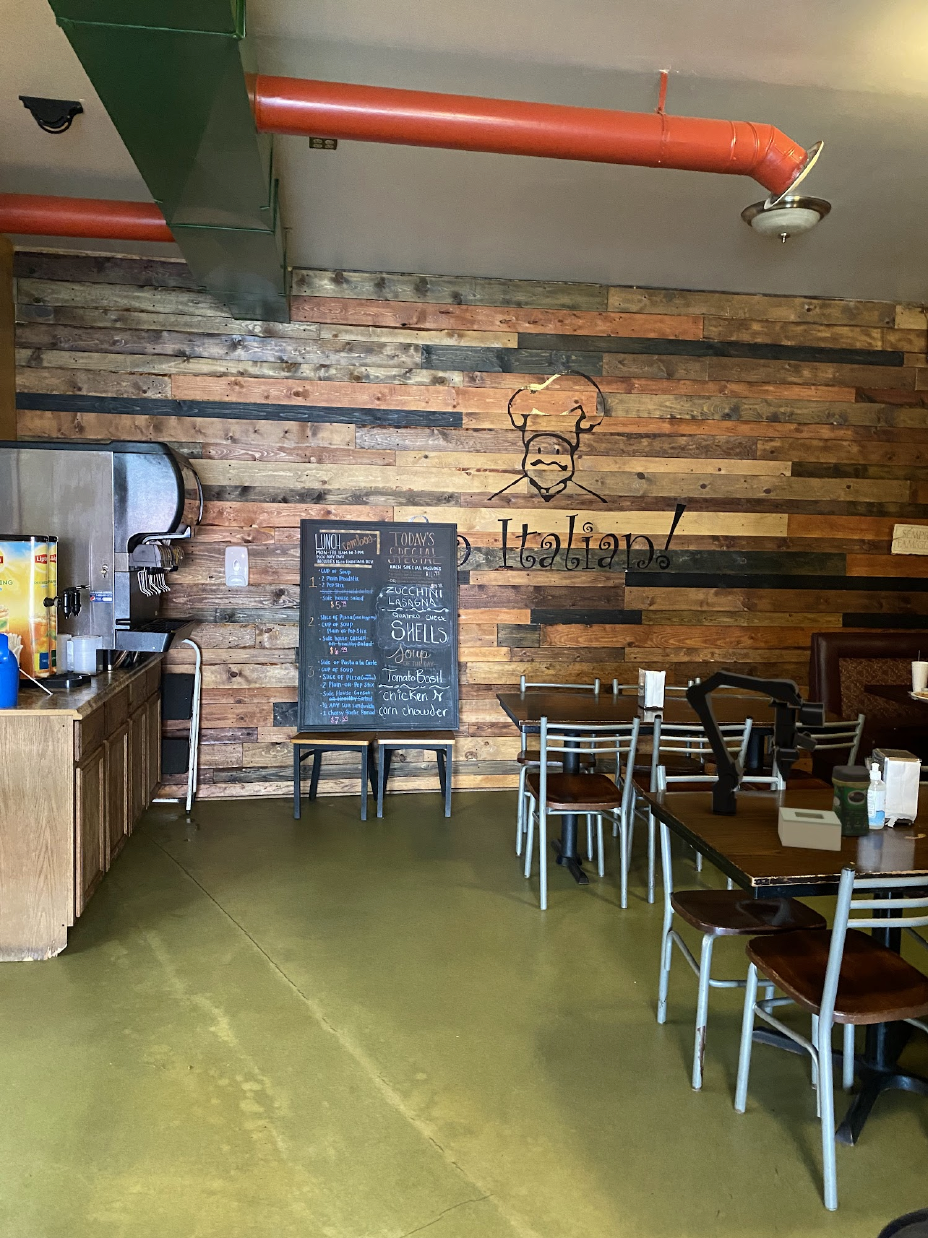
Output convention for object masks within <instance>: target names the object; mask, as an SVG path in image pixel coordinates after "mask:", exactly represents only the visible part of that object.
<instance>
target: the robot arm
mask: <svg viewBox="0 0 928 1238" xmlns="http://www.w3.org/2000/svg"><path fill="white" fill-rule="evenodd" d="M721 686H726V687H732V688H737V689H742V690H747V691H753V692H757V693H762V694H764V695H767V696H769V697H770V698H773V700H772V702H770V703H768V705H767V706H768V708H771V709H772V708H773V709H775V710H774V711H775V712H774V725H773V730H774V733H773V735H774V736H773V737H772V738H771V739H770V740H769V741H770V743H769V746H770V751H771V754H772V756H773V758H774V763H775V764H776V768H777V770H778V773H779V775H780V777H781V780H782V782H784V783H787V782H788V781H789V780H788V779H789V776H790V773H791V769H792V766H793V765H795V764H796V763H798V762H799V760H800V755H801V754H800V751H799V750H798V747H800V748H803V749H805V750H807V752H808V751H809V752H811V753H814V751H815V749H816V746H817V744H818V740H816V739H815V738H813V737H812V734H811V733H810V732H808V731H805V730H804V732H802V733H800V732H798V728H797V721H798V722H799V724H801V726H803V727H813V728H825V721H826V712H825V703H824V702H807V701H806V699H804V698H803V696H802V695H801V693H800V691H799V686H798V684H797V682H796V681H795V680H792V679H790V678H789V679H788V678H787V679H786V678H762V677H755V676H750V675H745V674H740V673H739V674H738V673H734V672H729V671H726V670H718V671H716V672H715V673H713V675H711V676H710V677H708V678H707V679H705V680H703V681H702V682H697V683H693V684H692V685H690V686H689V687H688V688H687V689H686V690H685V698H686V701H687V702H688V703H689V705H690V706H691V708H692V710H693V711H694V712H695V713H696V714H697V716H698V717H699V720H700V723H701V726H702V728H703V730H704V733H705V735H706V738H707V741H708V744H709V746H710V748H711V751H712V754H713V756H714V759H715V763H716V773H717V778H718V779H717V780H716V781H714V783H713V784H712V785H711V786H710V789H711V792H712V795H711V796H712V797H711V798H712V799H711V808H710V809H711V814H712V815H713V814H714V815H724V816H736V813H737V807H738V806H737V803H738V797H737V796H736V792H735V791H734V790H735V789H736V788H737V787H738V786H739V785H740V784H741V783H742V782H743V780H744V773H745V770H744V769H743V768H742V765H741V761H740V759H739V758H737V759H736V760H735V759H734V758H733V757H732V756H731V754H730V751H729V749H728V747H727V744H726V741H725V739H724V736H723V734H722V731H721V728H720V725H719V724H718V721H717V719H716V716H715V714H714V711H713V701H712V695H711V693H712V692H713V691H715V690H717V689H718V688H719V687H721Z"/></svg>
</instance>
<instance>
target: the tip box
mask: <svg viewBox="0 0 928 1238" xmlns="http://www.w3.org/2000/svg"><path fill="white" fill-rule="evenodd" d="M777 824H778V828H777V832H778V836H779V838H780V841H781V845H782V847H791V848H792V847H793V848H794V847H795V848H802V849H805V848H806V849H816V850H824V851H825V850H827V851H835V852H836V851H837V852H838V851H839V852H840V851H841V844H842V843H841V842H842V835H841V823H840V821H839V819H838V818H837V816H836V814H835V812H832V810H830V811H829V810H819V809H818V810H817V809H805V808H791V807H782V806H781V807H780V806H779V807H778V823H777Z"/></svg>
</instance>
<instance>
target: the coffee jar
mask: <svg viewBox="0 0 928 1238" xmlns="http://www.w3.org/2000/svg"><path fill="white" fill-rule="evenodd" d="M831 781H832V784H833V791H834V792H833V800H832V801H833V802H832V808H831V811H832V812H835V814H836V816H837V818H838V819H839V821H840V823H841V836H846V837H847V836H853V837H855V836H856V837H857V836H867V835H869V833H870V818H869V817H870V816H869V805H868V804H869V802H868V801H869V799H868V796H869V795H868V793H869V788H870V787H871V786H870V785H871V782H872V779H871V772H870V770H869V768H868V767H865V766H863V765H835V766H833V768H832V775H831Z"/></svg>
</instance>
